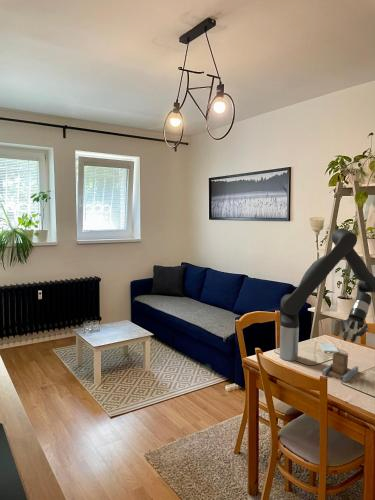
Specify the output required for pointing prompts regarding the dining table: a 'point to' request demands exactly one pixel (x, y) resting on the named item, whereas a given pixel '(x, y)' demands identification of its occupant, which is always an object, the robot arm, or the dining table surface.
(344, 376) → the channel
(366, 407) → the dining table surface
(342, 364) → the walnut block
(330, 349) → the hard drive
